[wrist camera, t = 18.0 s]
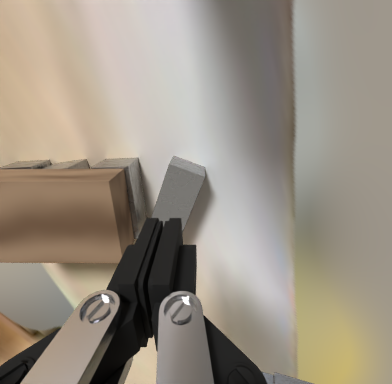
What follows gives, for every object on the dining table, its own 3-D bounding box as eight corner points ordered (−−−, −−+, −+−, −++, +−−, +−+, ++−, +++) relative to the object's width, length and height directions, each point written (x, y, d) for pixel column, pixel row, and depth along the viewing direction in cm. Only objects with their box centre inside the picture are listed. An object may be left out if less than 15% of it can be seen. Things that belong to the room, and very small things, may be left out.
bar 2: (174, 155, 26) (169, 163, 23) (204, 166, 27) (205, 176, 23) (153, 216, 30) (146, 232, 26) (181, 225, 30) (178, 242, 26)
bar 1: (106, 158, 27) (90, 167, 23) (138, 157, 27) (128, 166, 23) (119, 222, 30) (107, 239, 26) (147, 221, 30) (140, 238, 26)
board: (-15, 169, 23) (-56, 182, 20) (124, 168, 23) (108, 181, 19) (13, 240, 27) (-18, 262, 23) (134, 240, 26) (123, 263, 22)
